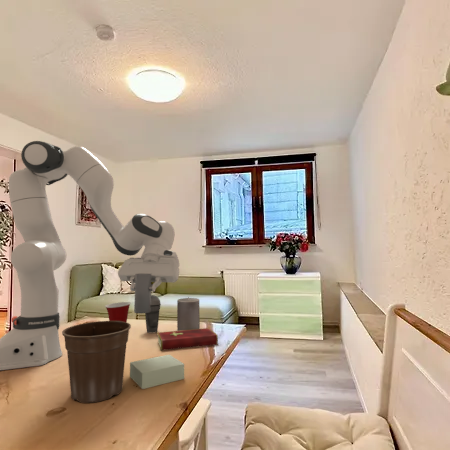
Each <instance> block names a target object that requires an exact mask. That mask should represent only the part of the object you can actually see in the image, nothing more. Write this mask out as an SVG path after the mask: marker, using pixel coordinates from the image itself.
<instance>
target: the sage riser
mask: <svg viewBox="0 0 450 450" xmlns="http://www.w3.org/2000/svg"><path fill="white" fill-rule="evenodd" d="M129 378H130V379H132V381H133V382H134V383H136V385H138V387H139V388H140V389H142V390H144V389H149V388H153V387H156V386H160V385H165V384H169V383H173V382H176V381H181V380H184V379H185V363H183V362H182V361H181V360H179V359H177V358H175V357H174V356H173V355H171V354H165V355H161V356H156V357H155V356H154V357H150V358H145V359H140V360H135V361H130V363H129Z"/></svg>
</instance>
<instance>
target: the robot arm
mask: <svg viewBox="0 0 450 450" xmlns="http://www.w3.org/2000/svg"><path fill="white" fill-rule="evenodd" d="M20 156H21V161H22V163H23V164H24V166H25V168H23V169H19V170H18V169H17V170H15V171H14V172H12V173H11V174H10V175H9V178H8V194H9V202H10V206H11V210H12V216H13V221H14V225H15V228H16V229H17V230H18V231H19V233H20V235H21V237H22V239H23V240H24V242H22V243H20V244H18V245H16V247H14V249H12V251H11V255H10V263H11V264H12V267H13V268H14V269H15V270H16V275H17V278H18V282H19V287H20V315H19V316H17V315H13V316H12V317H11V323H12V329H11V330H10V331H8V332H7V333H5V334H4V335H3V336H2V337H0V371H4V370H6V371H7V370H12V369H13V370H14V369H21V368H30V367H38V366H43V365H45V364H47V363H49V362H51V361H54V360H57V359H58V358H60V357H61V356H63V351H62V348H61V347H62V346H61V343H60V336H59V335H60V334H59V329H60V325H61V321H60V320H61V319H60V318H61V317H60V312H59V288H58V286H57V283H56V280H55V275H54V274H55V273H54V271H56V270H57V269H59V268H60V267H62V266H63V265H64V264H65V262H66V260H67V251H66V249H65V247H64V246H63V244H62V242H61V239H60V235H59V234H58V231H57V229H56V227H55V224H54V221H53V218H52V212H51V210H50V205H49V201H48V196H47V192H46V186H51V185H53V184H55V183H58V182H61V181H62V180H64V179H66V178H67V177H68V176H69V177H70V178H71V179H73V180H74V182H75V183H76V184H77V185H78V186H79V188H81V190H82V192H83V193H84V195H85V197H86V199H87V201H88V204H89V207H90V209H91V211H92V213H93V214H94V215H95V217H96V219H98V221H99V222H100V224H101V226H102V227H103V229H105V231H106V232H107V234H108V236H109V237H110V238H111V240H112V242H113V245H114V247H115V249H116V250H117V251H118V252H120V254H122V255H124V256H135V255H137V254H138V253H139V252H140V251H141V250H142V248H143V247H144V249H143V251H142V254H141V256H140V257H129V258H127V259H125V260H124V262H123V263H122V264H121V266H120V268H119V269H118V271H117V276H118V278H119V280H120V281H121V282H130V283H131V284H130V287H129V290H130V291H131V292H135V274H139V273H144V274H151V284H150V287H149V290H150V292H151V293H152V292H155V291H156V289H157V288H158V287H159V286H160V285H161V284H162V283H176V282H177V281H179V277H180V261H179V257H178V254H177V252H176V251H173V250H172V247H173V244H174V241H175V229H174V227H173V225H172V224H171V223H169V222H168V221H164V220H160V221H159V220H156V219H155V218H153V217H152V216H150V215H148V214H146V213H137V214H135V215H133V216H132V218H130V220H129V221H128V222H127V223H126V225H125V226H124V225H123V223H122V222H121V220H120V219H119V218H118V217H117V215H116V213H115V212H114V210H113V207H112V195H113V190H114V185H115V183H114V182H115V181H114V178H113V175H112V173H111V172H110V170H109V169H108V168H107V167H106V166H105V165H104V164H103V163H102V162H101V161H100V160H99V159H98V158H97V157H96V156H95V155H93V153H91V152H90V151H89V150H88V149H86V148H85V147H83V146H79V145H78V146H77V145H76V146H73V147H70V148H69V149H67V150H65V151H64V150H63V149H62V148H61V147H59V146H56V145H55V144H52V143H48V142H45V141H42V140H34V141H29V142H28V143H27V144H25V145H24V146H23V148H22V150H21V154H20Z"/></svg>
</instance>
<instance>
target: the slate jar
mask: <svg viewBox="0 0 450 450" xmlns="http://www.w3.org/2000/svg"><path fill="white" fill-rule="evenodd" d="M134 284H135V291H134V302H133V303H134V305H133V307H134V308H133V309H134V311H133V312H134V314H145V313H149V312H150V306H151V295H152V292H150V290H149V287H150V284H152V282H151V274H144V273H139V274H135V283H134Z"/></svg>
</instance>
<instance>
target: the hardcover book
mask: <svg viewBox="0 0 450 450" xmlns="http://www.w3.org/2000/svg"><path fill="white" fill-rule="evenodd" d="M156 334H157V337H158V338H157V339H158V340H157V343H158V345H159V346H160V351H168V350H179V349H188V348H196V347H198V348H199V347H207V346H215V345H218V344H219V336H218V334H217V333H216V332H215V331H213V329H211V328H210V327H206V328H205V327H202V328H200V329H192V330H180V331H177V330H171V331H159V332H158V331H157V332H156Z"/></svg>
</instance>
